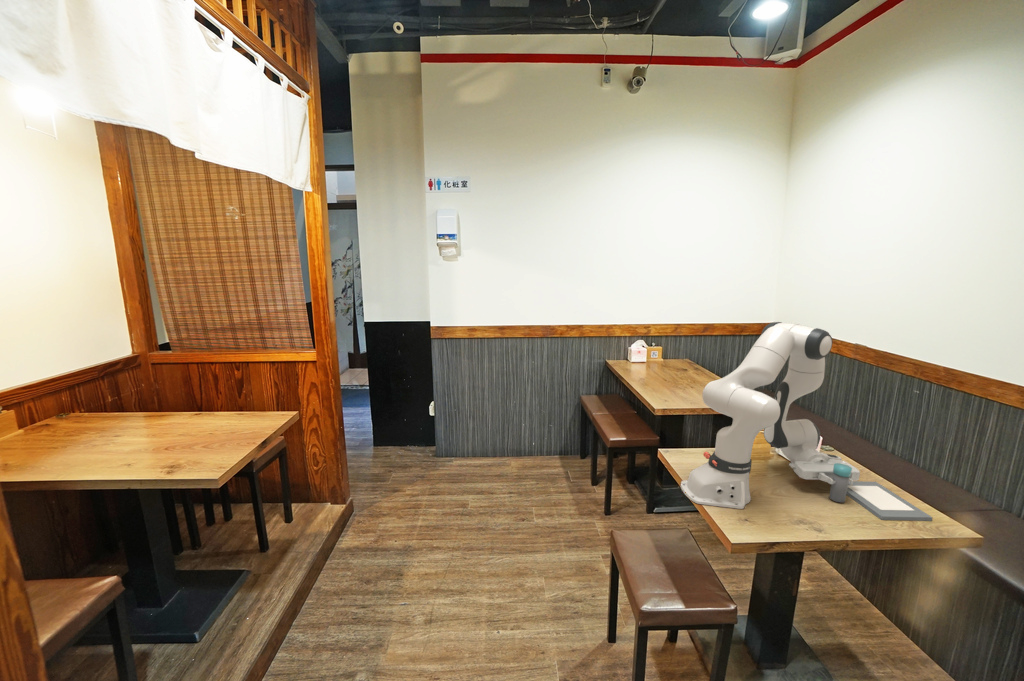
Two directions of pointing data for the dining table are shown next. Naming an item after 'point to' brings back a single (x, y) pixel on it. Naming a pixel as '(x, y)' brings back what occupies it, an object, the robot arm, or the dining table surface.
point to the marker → (840, 482)
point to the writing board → (884, 502)
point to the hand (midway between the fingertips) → (842, 482)
